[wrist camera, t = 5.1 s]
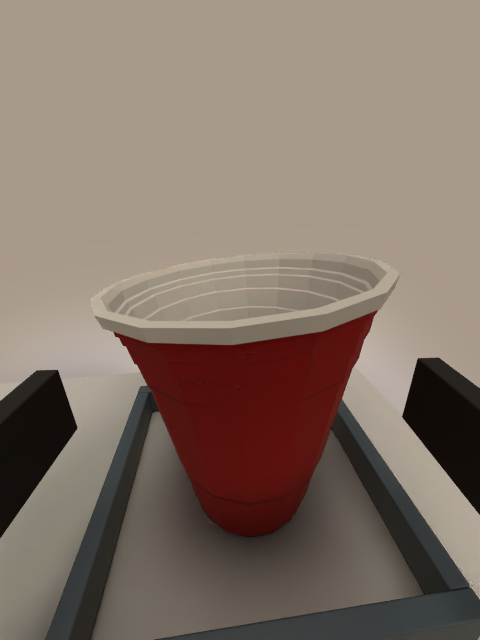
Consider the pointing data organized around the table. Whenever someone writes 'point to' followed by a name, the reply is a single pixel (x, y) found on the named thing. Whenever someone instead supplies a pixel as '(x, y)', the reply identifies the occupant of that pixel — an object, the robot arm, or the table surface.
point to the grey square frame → (305, 630)
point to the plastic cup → (248, 367)
